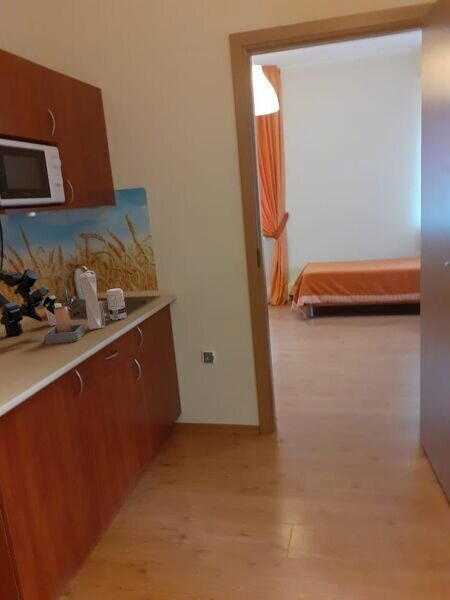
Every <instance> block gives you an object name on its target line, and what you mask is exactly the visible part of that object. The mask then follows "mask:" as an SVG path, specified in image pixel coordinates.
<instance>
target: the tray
mask: <svg viewBox="0 0 450 600" xmlns="http://www.w3.org/2000/svg"><path fill="white" fill-rule="evenodd" d="M85 326H86V325H85V323H79V324H71V328H72V332H67V333H58V330H57V326H53V327H52V328H51V329H49V330H48V332H46V333H45V334H44V340H45V345H51V344H60V343H69V342H71V343H72V342H78V341H79V340H80V339H81V338H82V337H83V336H84V335H85V333H86V327H85ZM82 335H83V336H82ZM81 336H82V337H81ZM77 340H78V341H77Z"/></svg>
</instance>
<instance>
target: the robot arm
mask: <svg viewBox="0 0 450 600" xmlns="http://www.w3.org/2000/svg"><path fill="white" fill-rule="evenodd" d="M39 277H40V275H39V273H38V272H36V271H35V270H31V269H30V268H26V269H25V270H24V272H23V273H21V272H18V271H16V272H15V271H7V270H3V269H1V268H0V281H2V282H3V284H4V285H6V286H7V287H9V288H13V287H16V288H14V292H13V293H14V295H19V296H20V297H21V298H22V299H23V303H21V305H19V303H18V302H16V301H15V300H13V301H11V302H10V301H9V300H8V299H7V298H6V297H5V296H4V295H3V294H2V293H1V292H0V313H1V314H0V315H2V316H1V318H0V324H1V325H4V328H5V336H4V337H5V338H9V337H19V336H20V335H22V334H23V333H24V330H23V325H22V323H21V321H23V318H24V317H27V318H30V319H32V320H36V321H38V322H43V320H44V319H43V318H42V317H41V315H40V314H39V313H38V312H37V311H36V309H37V308H39V307H44V308H45V307H46V309H47V310H48V311H49V312H51V313H52V314H54V308H55V303H56V301H57V299H58V298H57V296H55V294H53V295H49V296H47V295H48V293H49V292H50V290H49V288H48V286H46V285H43V286H42V287H41V288H38V289H36V290H34V289H33V287H34V286H35V285H36V284H37V281H38V280H39ZM45 296H46V297H45ZM44 298H45V299H44ZM46 309H45V310H46ZM54 315H55V314H54Z"/></svg>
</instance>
